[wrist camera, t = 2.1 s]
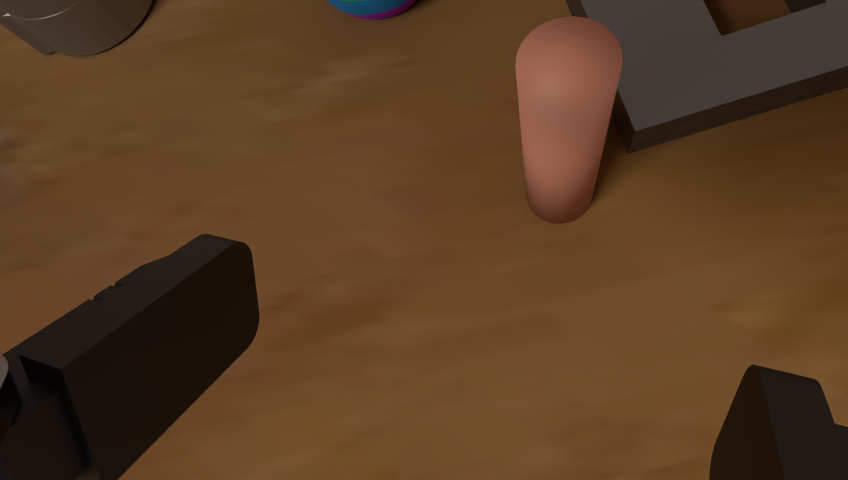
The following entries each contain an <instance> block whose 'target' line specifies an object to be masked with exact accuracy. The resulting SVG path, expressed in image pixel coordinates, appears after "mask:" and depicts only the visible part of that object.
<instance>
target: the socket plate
mask: <svg viewBox="0 0 848 480" xmlns="http://www.w3.org/2000/svg"><path fill="white" fill-rule="evenodd" d="M566 2H567V4H568V7H569V9H570V12H571V14H572V16H576V17H584V18H588V19H592V20H594V21H597V22H599V23H601V24H602V25H604V26H605V27H607V28H608V29H609V30H610V31H611V32H612V33H613V34H614V35H615V37H616V38H617V40H618V42H619V44H620V47H621V50H622V59H623V62H622V68H621V73H620V77H619V81H618V86H617V90H616V95H615V99H614V104H613V108H612V115H613V118H614V120H615V123H616V125H617V128H618V130H619V132H620V135H621V137H622V140H623V142H624V145H625V147H626V150H627V152H628V153H631V152H634V151H638V150H641V149H644V148H647V147H651V146H654V145H657V144H661V143H664V142H667V141H670V140H674V139H677V138H680V137H684V136H687V135H690V134H693V133H697V132H700V131H703V130H707V129H710V128H713V127H717V126H720V125H723V124H726V123H730V122H733V121H736V120H740V119H743V118H746V117H749V116H753V115H756V114H759V113H763V112H766V111H769V110H772V109H776V108H779V107H782V106H786V105H789V104H792V103H796V102H799V101H802V100H805V99H809V98H812V97H815V96H819V95H822V94H825V93H828V92H832V91H835V90H838V89H842V88H845V87H848V0H785V2H786V3H787V5H788V7H789V9H790V10H791V12H792V14H789V15H785V16H782V17H779V18H776V19H773V20H770V21H767V22H764V23H761V24H757V25H754V26H751V27H748V28H745V29H742V30H739V31H736V32H733V33H729V34H726V35H723V36H721V35H720V33H719V31H718V29H717V27H716V25H715V23H714V21H713V19H712V17H711V15H710V13H709V11H708V9H707V7H706V5H705V3H704V1H703V0H566Z"/></svg>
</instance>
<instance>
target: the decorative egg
mask: <svg viewBox="0 0 848 480" xmlns="http://www.w3.org/2000/svg"><path fill="white" fill-rule="evenodd" d="M327 1H328V2H329V3H330V4H332V5H333V6H334V7H336V8H338V9H339V10H341V11H343V12H345V13H347V14H349V15H352V16H355V17H358V18H362V19H384V18H389V17H392V16H395V15H397V14H399V13H401V12H403V11H404V10H406V9H407V8H409V7H410V6H411V5H412V4H413V3H414V2H415V1H416V0H327Z"/></svg>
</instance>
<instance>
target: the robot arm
mask: <svg viewBox="0 0 848 480" xmlns="http://www.w3.org/2000/svg"><path fill="white" fill-rule="evenodd" d="M152 1H153V0H0V24H1V25H3V26H4V27H5V28H7V29H8V30H10V31H11V32H12V33H14V34H15V35H17V36H18V37H19V38H21V39H22V40H24V41H25V42H27V43H28V44H29V45H31V46H32V47H34V48H35V49H36V50H38V51H39V52H41V53H42V54H44V55H46V54H49V53H51V52H56V51H57V52H61V53H64V54H68V55H72V56H86V55H92V54H96V53H99V52H102V51H104V50H107V49H109V48H111V47H112V46H114V45H116V44H118V43H119V42H121V41H122V40H123V39H124V38H126V37H127V36H128V35H130V34H131V33H132V31H133V30H134V29H135V28H136V27H137V26H138V25H139V24H140V23H141V21H142V20H143V18H144V17H145V15H146V14H147V12H148V10H149V8H150V5H151V3H152ZM258 325H259V308H258V300H257V291H256V283H255V275H254V267H253V259H252V253H251V250H250V248H249V247H248V246H247V245H246V244H245V243H243V242H239V241H234V240H230V239H226V238H222V237H217V236H213V235H209V234H203V235H200V236H198V237H196V238H194V239H193V240H191V241H190V242H188V243H187V244H185V245H184V246H182V247H181V248H179V249H178V250H176V251H175V252H173V253H172V254H170V255H169V256H166V257H164V258H161V259H158V260H155V261H153V262H150V263H147V264H145V265H142V266H140V267H138V268H137V269H135V270H134V271H132V272H131V273H129V274H128V275H126V276H124V277H123V278H121V279H120V280H118V281H117V282H116V284H115V286H109V287H107V288H106V289H104V290H103V291H101V292H100V293H98V294H96V295H95V296H94V299H93V300H87V301H86V302H84V303H82V304H81V305H79V306H78V307H76V308H75V309H73V310H72V311H70V312H68V313H67V314H65V315H64V316H62V317H61V318H59V319H57V320H56V321H54V322H53V323H51V324H50V325H48V326H47V327H45V328H43V329H42V330H40V331H39V332H37V333H36V334H34V335H33V336H31V337H29V338H28V339H26V340H25V341H23V342H22V343H20V344H19V345H17V346H15V347H14V348H12V349H11V350H9V351H8V352H6V353H4V354H3V355H1V354H0V480H118V479H119V478H120V477H121V476H122V475H123V474H124V473H125V472H126V471H127V470H128V468H129V467H130V466H131V465H132V464H133V463H134V462H135V461H136V460H137V459H138V458H139V457H140V456H141V455H142V454H143V453H144V452H145V451H146V450H147V449H148V448H149V447H150V446H151V445H152V444H153V443H154V442H155V441H156V440H157V439H158V438H159V437H160V436H161V435H162V434H163V433H164V432H165V431H166V430H167V429H168V428H169V427H170V426H171V425H172V424H173V423H174V422H175V421H176V420H177V419H178V418H179V417H180V416H181V415H182V414H183V413H184V412H185V411H186V410H187V409H188V408H189V407H190V406H191V405H192V404H193V403H194V402H195V401H196V400H197V399H198V398H199V397H200V396H201V395H202V394H203V393H204V392H205V391H206V390H207V389H208V388H209V387H210V386H211V385H212V384H213V383H214V382H215V381H216V380H217V379H218V378H219V377H220V375H221V374H222V373H223V372H224V371H225V370H226V369H227V368H228V367H229V366H230V365H231V364H232V363H233V362H234V361H235V360H236V359H237V358H238V357H239V356H240V355H241V354H242V353H243V352H244V351H245V350H246V349H247V348H248V347H249V345H250V344H251V343H252V341H253V339H254V337H255V335H256V332H257V329H258ZM709 480H848V427H845V426H841V425H837V424H835V423H834V420H833V417H832V415H831V412H830V409H829V406H828V404H827V401H826V398H825V395H824V393H823V390H822V387H821V385H820V384H819V382H818V381H817V380H815V379H812V378H808V377H804V376H799V375H795V374H791V373H787V372H783V371H778V370H774V369H770V368H766V367H761V366H757V365H751V366H750V367H749V368H748V369H747V370H746V372H745V374H744V376H743V378H742V380H741V383H740V385H739V388H738V390H737V392H736V395H735V397H734V399H733V402H732V404H731V407H730V409H729V411H728V414H727V416H726V419H725V421H724V423H723V426H722V428H721V431H720V433H719V435H718V438H717V440H716V443H715V446H714V449H713V454H712V459H711V465H710V476H709Z"/></svg>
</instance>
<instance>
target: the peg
mask: <svg viewBox="0 0 848 480" xmlns="http://www.w3.org/2000/svg"><path fill="white" fill-rule="evenodd" d="M622 62H623V59H622V50H621V47H620V44H619V42H618V40H617V38H616V37H615V35H614V34H613V33H612V32H611V31H610V30H609V29H608V28H607V27H605V26H604V25H602V24H601V23H599V22H597V21H594V20H592V19H588V18H584V17H576V16H569V17H561V18H556V19H553V20H550V21H547V22H545V23H543V24H541V25H540V26H538V27H537V28H535V29H534V30H533V31H532V32H530V33H529V34H528V36H527V37H526V38H525V39H524V41H523V42H522V44H521V45H520V47H519V50H518V53H517V56H516V77H517V89H518V101H519V113H520V125H521V137H522V149H523V161H524V173H525V185H526V197H527V202H528V204H529V207H530V208H531V210H532V211H533V212H534V214H536V215H537V216H538V217H539V218H541V219H542V220H544V221H547V222H550V223H556V224H562V223H568V222H571V221H574V220H576V219H578V218H579V217H581V216H582V215H583V214H584V213H585V212H586V211H587V209H588V208H589V206H590V204H591V201H592V197H593V193H594V188H595V184H596V179H597V175H598V170H599V166H600V161H601V157H602V153H603V148H604V144H605V139H606V135H607V130H608V126H609V121H610V117H611V113H612V108H613V104H614V99H615V95H616V90H617V86H618V81H619V77H620V73H621V68H622Z"/></svg>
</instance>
